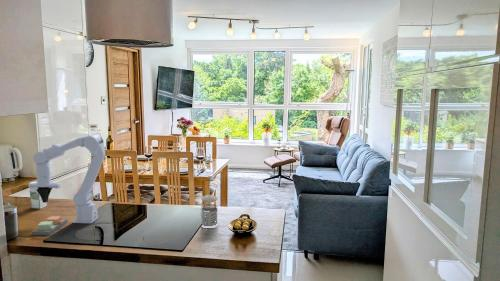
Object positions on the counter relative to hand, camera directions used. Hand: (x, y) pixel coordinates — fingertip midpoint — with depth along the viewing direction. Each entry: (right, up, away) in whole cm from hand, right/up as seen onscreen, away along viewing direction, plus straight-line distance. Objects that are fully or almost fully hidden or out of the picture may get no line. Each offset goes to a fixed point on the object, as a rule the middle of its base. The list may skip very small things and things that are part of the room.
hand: (45, 201), depth 174 cm
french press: (+81, -12, 0) cm, 82 cm away
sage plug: (+6, -12, -10) cm, 17 cm away
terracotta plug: (+7, -11, -4) cm, 13 cm away
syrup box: (-16, -7, +21) cm, 28 cm away
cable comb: (+6, -11, -7) cm, 15 cm away
